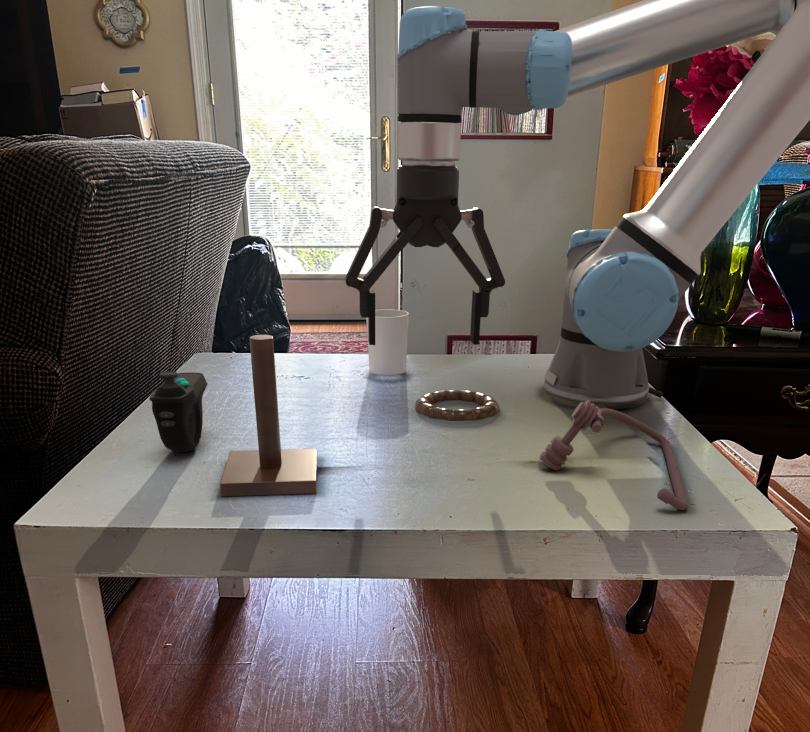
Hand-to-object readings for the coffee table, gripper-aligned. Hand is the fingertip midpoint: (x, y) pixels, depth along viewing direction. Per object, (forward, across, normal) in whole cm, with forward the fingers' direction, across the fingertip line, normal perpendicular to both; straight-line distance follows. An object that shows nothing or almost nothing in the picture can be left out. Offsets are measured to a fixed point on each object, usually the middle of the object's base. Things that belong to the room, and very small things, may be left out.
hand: (423, 342), depth 103 cm
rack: (+10, +19, +21) cm, 30 cm away
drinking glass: (+10, +3, -21) cm, 24 cm away
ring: (+9, -5, 0) cm, 10 cm away
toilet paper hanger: (+10, -19, +22) cm, 31 cm away
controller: (+10, +30, +10) cm, 33 cm away
